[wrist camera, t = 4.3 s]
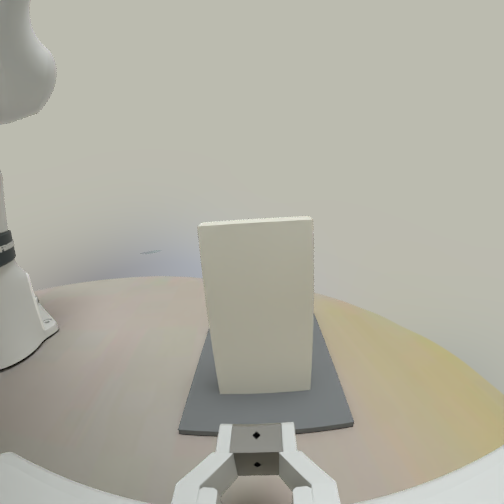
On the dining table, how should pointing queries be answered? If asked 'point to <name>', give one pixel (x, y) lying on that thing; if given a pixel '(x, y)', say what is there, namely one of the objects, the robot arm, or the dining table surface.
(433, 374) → the dining table surface
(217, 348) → the tile
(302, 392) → the mat
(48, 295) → the dining table surface
